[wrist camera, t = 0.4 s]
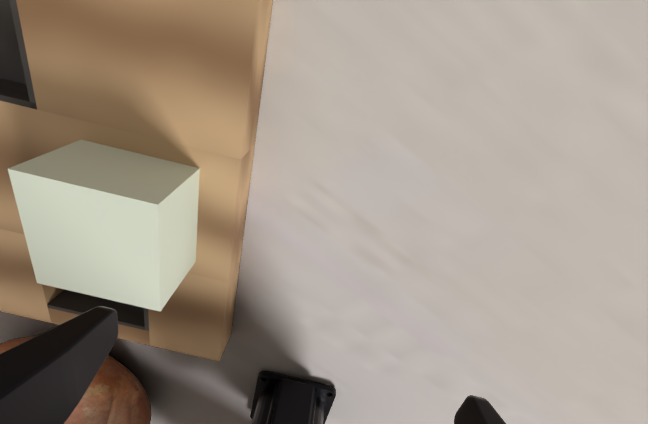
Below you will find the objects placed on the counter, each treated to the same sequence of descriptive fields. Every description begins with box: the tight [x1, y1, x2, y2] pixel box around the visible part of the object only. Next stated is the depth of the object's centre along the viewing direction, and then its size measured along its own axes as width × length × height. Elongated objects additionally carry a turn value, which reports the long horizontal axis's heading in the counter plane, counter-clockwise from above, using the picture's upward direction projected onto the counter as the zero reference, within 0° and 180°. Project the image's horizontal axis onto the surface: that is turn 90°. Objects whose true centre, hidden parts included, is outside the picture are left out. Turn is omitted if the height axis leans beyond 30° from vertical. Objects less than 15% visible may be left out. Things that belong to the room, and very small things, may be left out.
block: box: [8, 140, 200, 312], centre depth 17 cm, size 6×6×4 cm
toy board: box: [0, 0, 273, 361], centre depth 19 cm, size 23×24×4 cm
